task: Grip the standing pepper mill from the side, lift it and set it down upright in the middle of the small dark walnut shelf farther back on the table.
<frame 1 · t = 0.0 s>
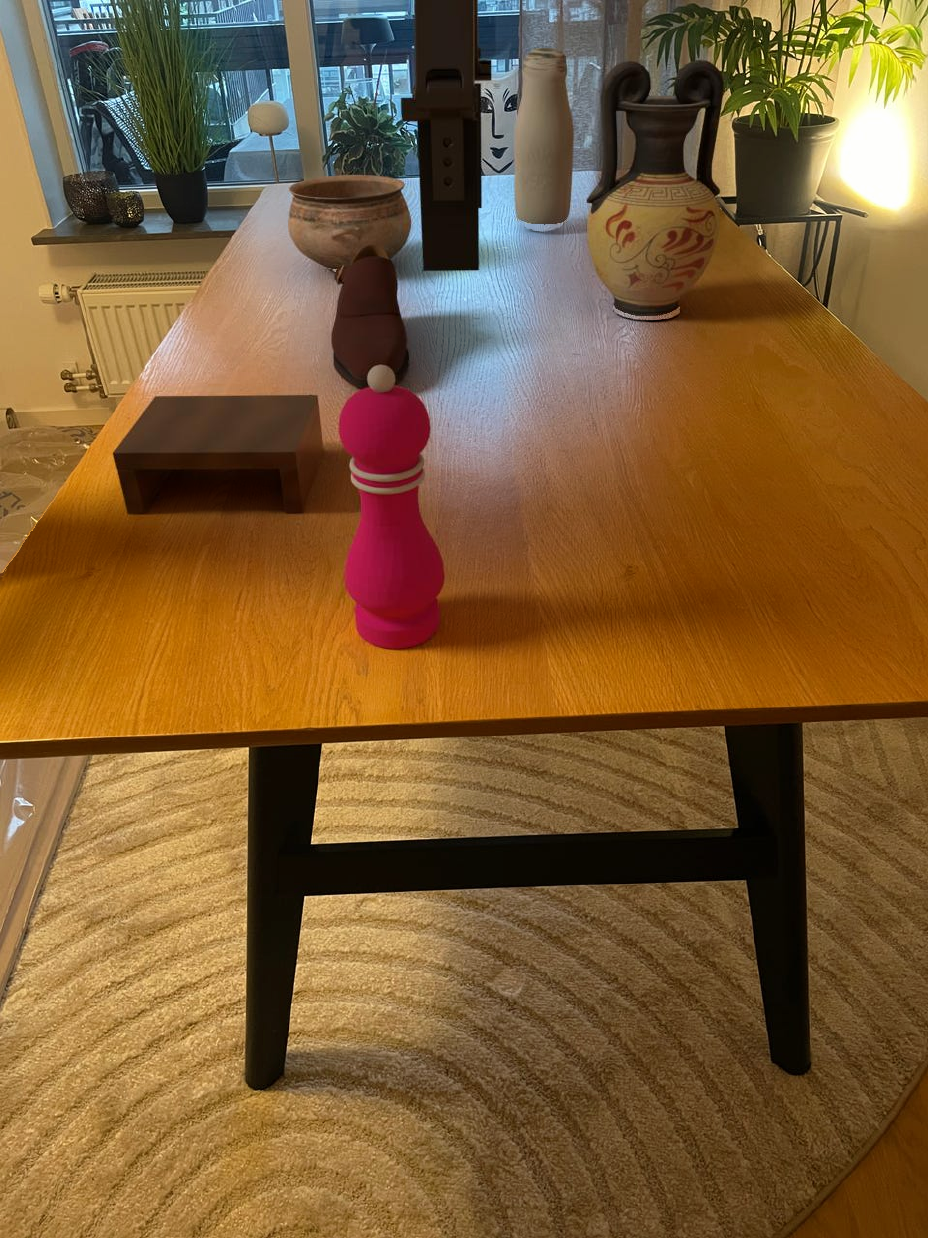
hand: (455, 235, 53), 29 cm above the table, tool pointing down, fingers open, 13 cm apart
amphora: (645, 312, 133), on the table
shelf: (230, 480, 93), on the table
cooking pot: (353, 270, 154), on the table
dress shoe: (371, 357, 120), on the table
tan bottle: (541, 231, 172), on the table
pepper mill: (398, 627, 73), on the table
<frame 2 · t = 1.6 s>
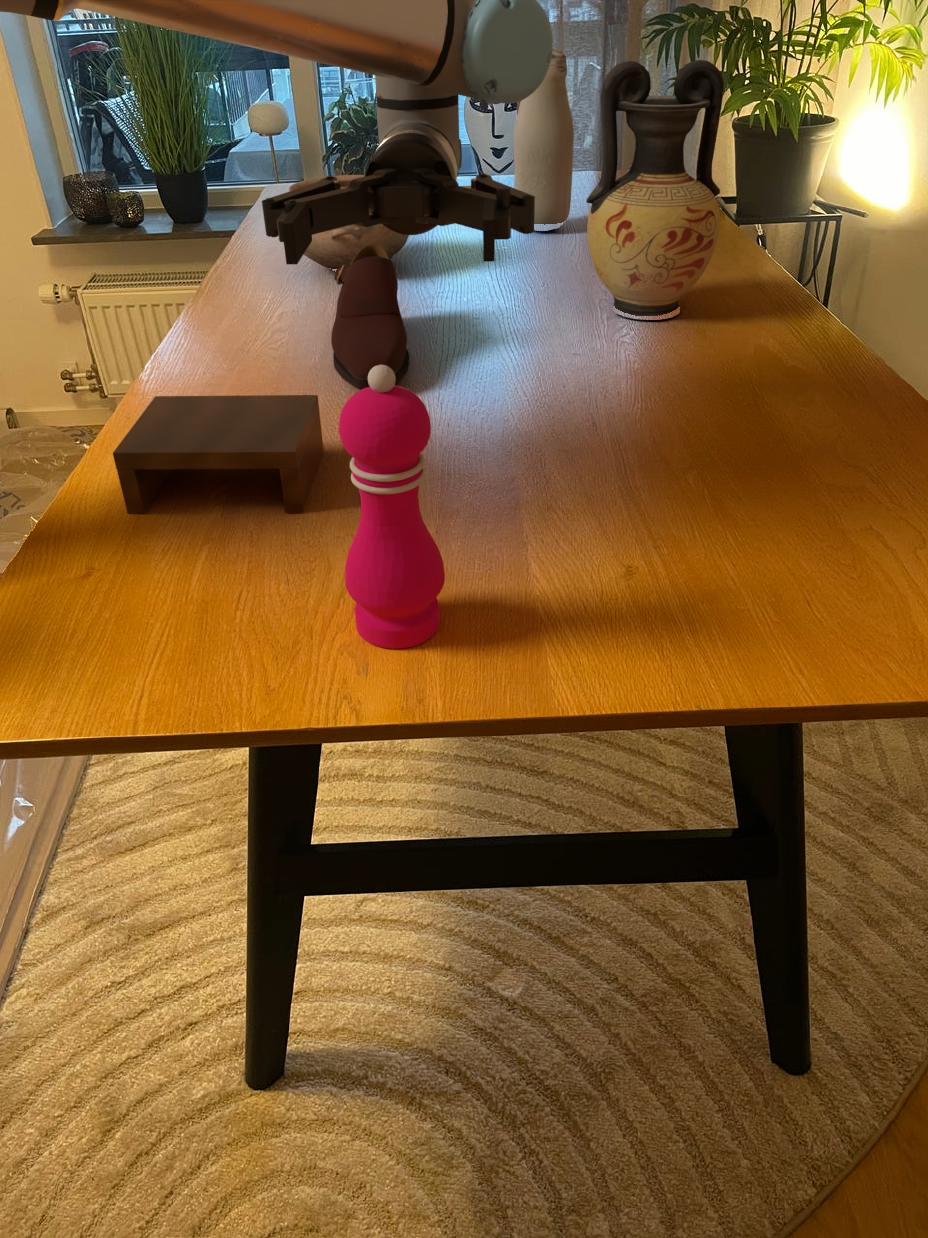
hand: (388, 242, 66), 25 cm above the table, tool horizontal, fingers open, 13 cm apart
nothing on the table moved.
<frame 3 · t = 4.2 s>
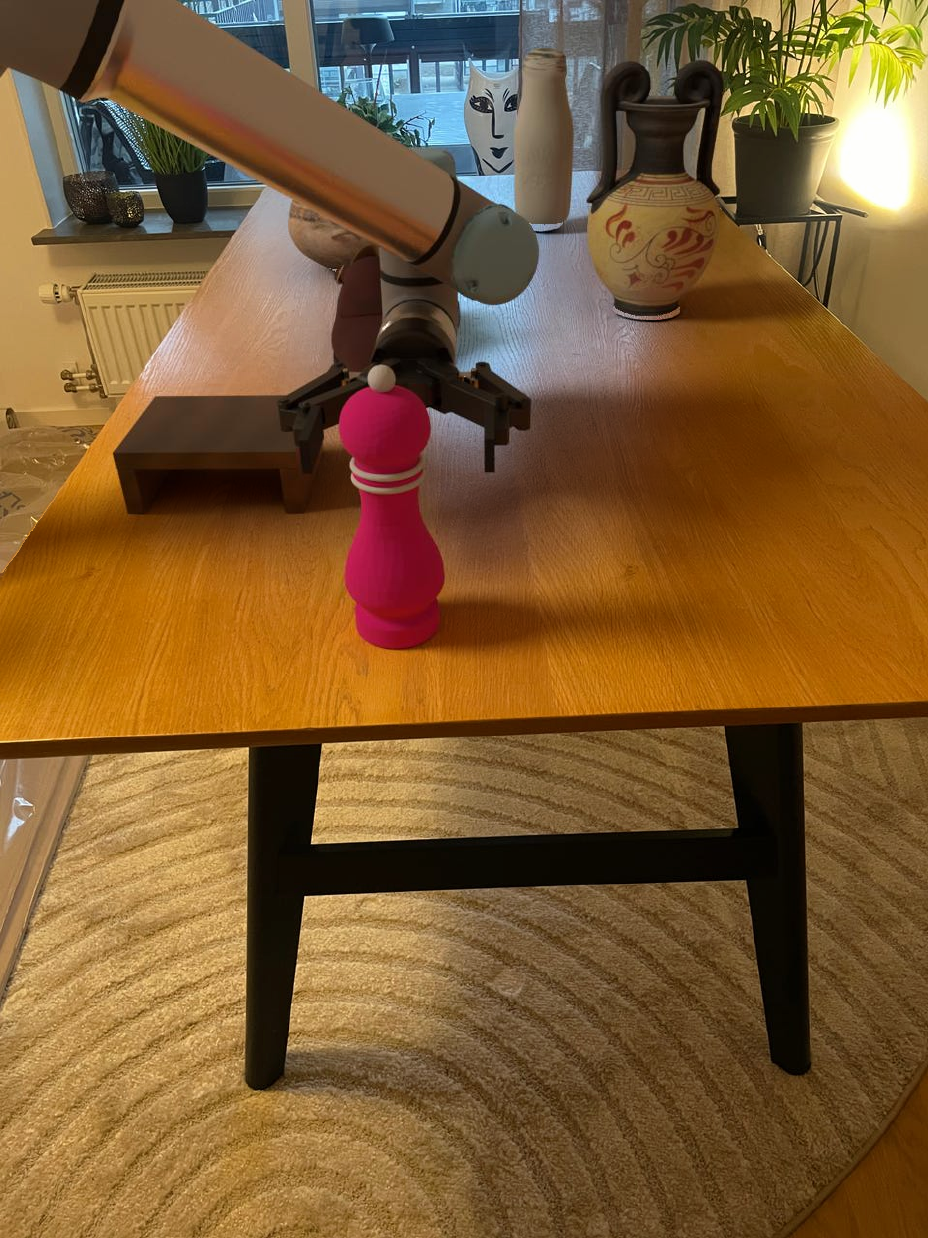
hand: (397, 456, 71), 11 cm above the table, tool horizontal, fingers open, 13 cm apart
nothing on the table moved.
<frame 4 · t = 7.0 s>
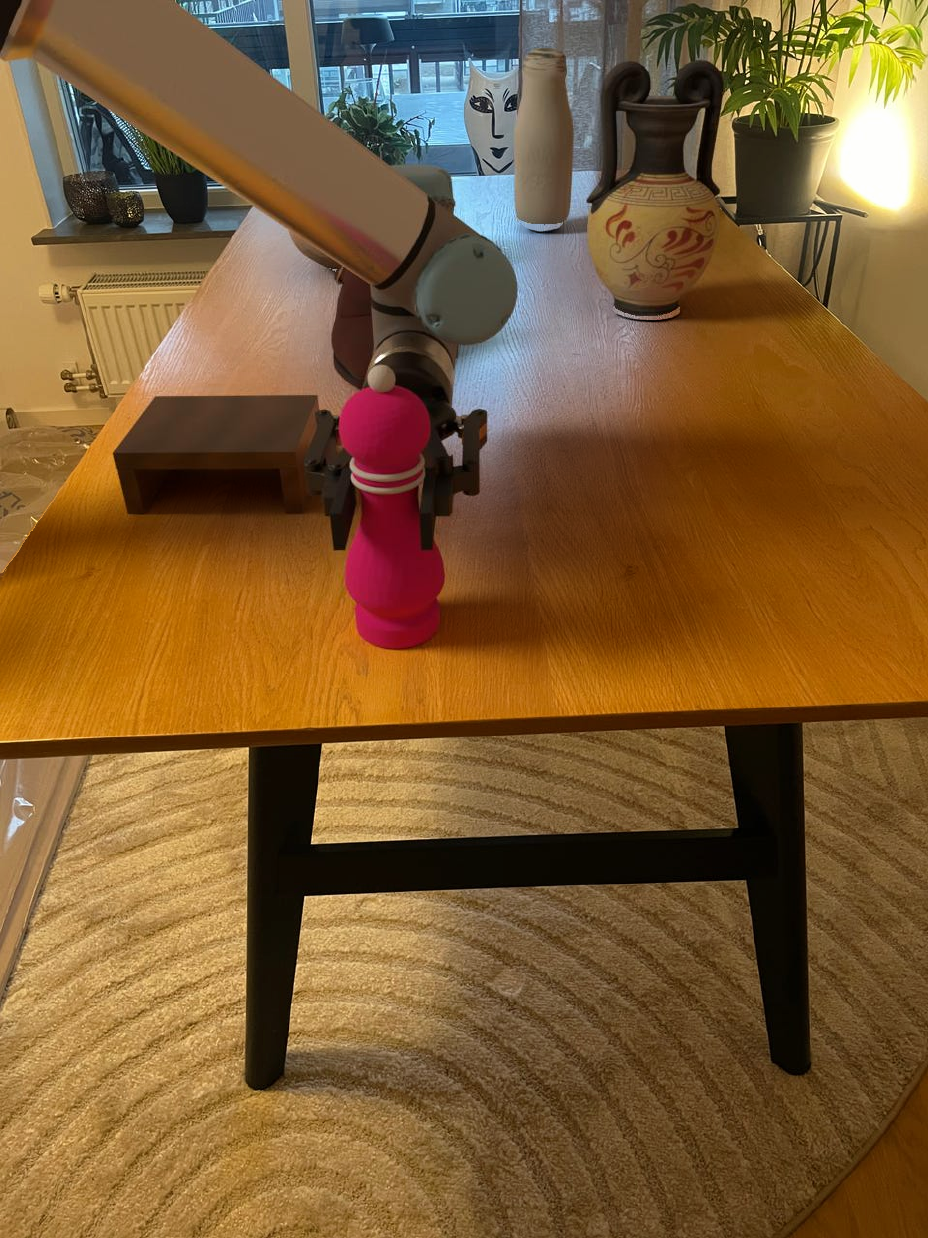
hand: (381, 531, 62), 11 cm above the table, tool horizontal, fingers closed on pepper mill, 5 cm apart
pepper mill: (398, 627, 73), on the table, touching gripper
everything else where it was.
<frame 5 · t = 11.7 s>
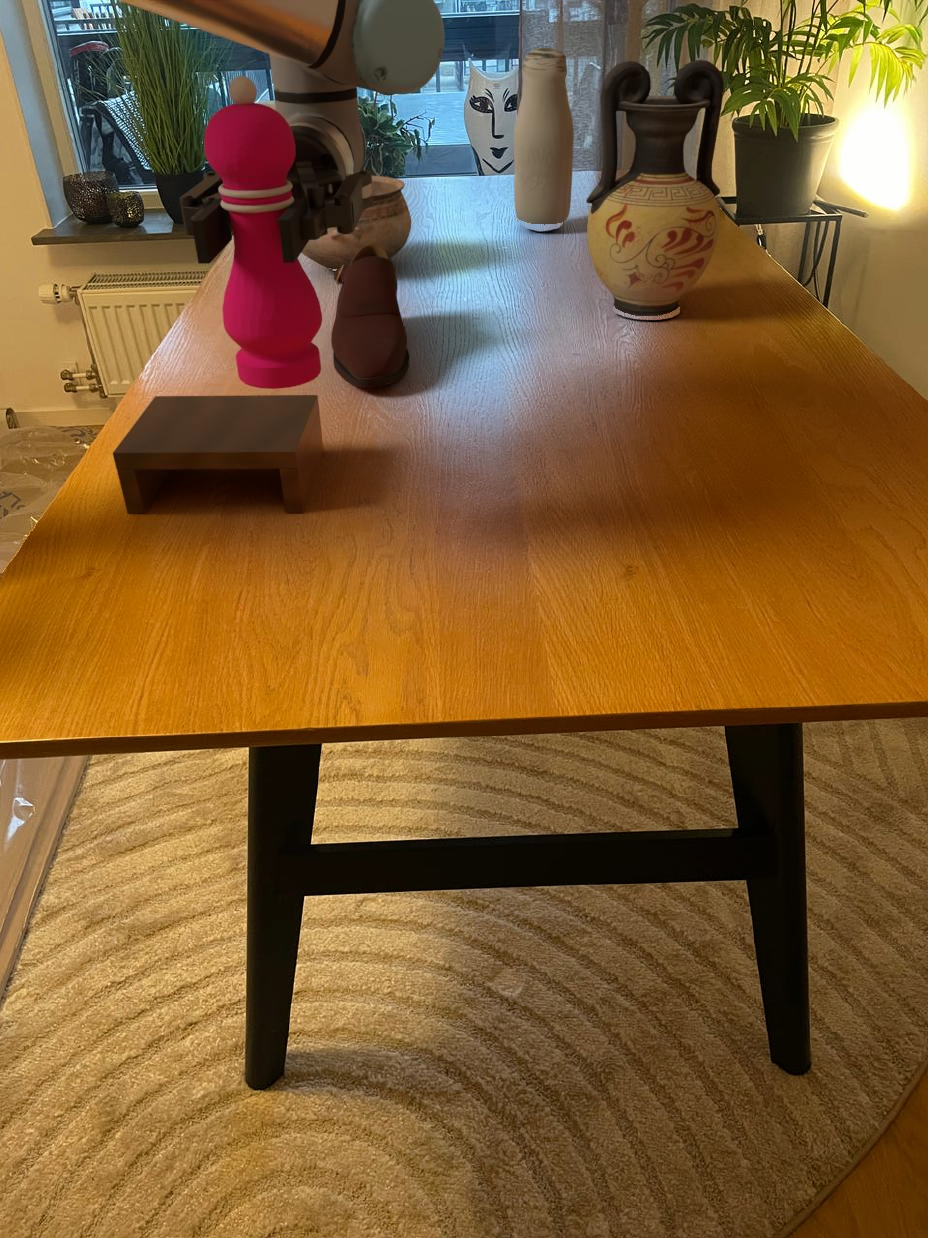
hand: (243, 241, 63), 26 cm above the table, tool horizontal, fingers closed on pepper mill, 5 cm apart
pepper mill: (280, 376, 74), point 15 cm above the table, touching gripper
everything else where it was.
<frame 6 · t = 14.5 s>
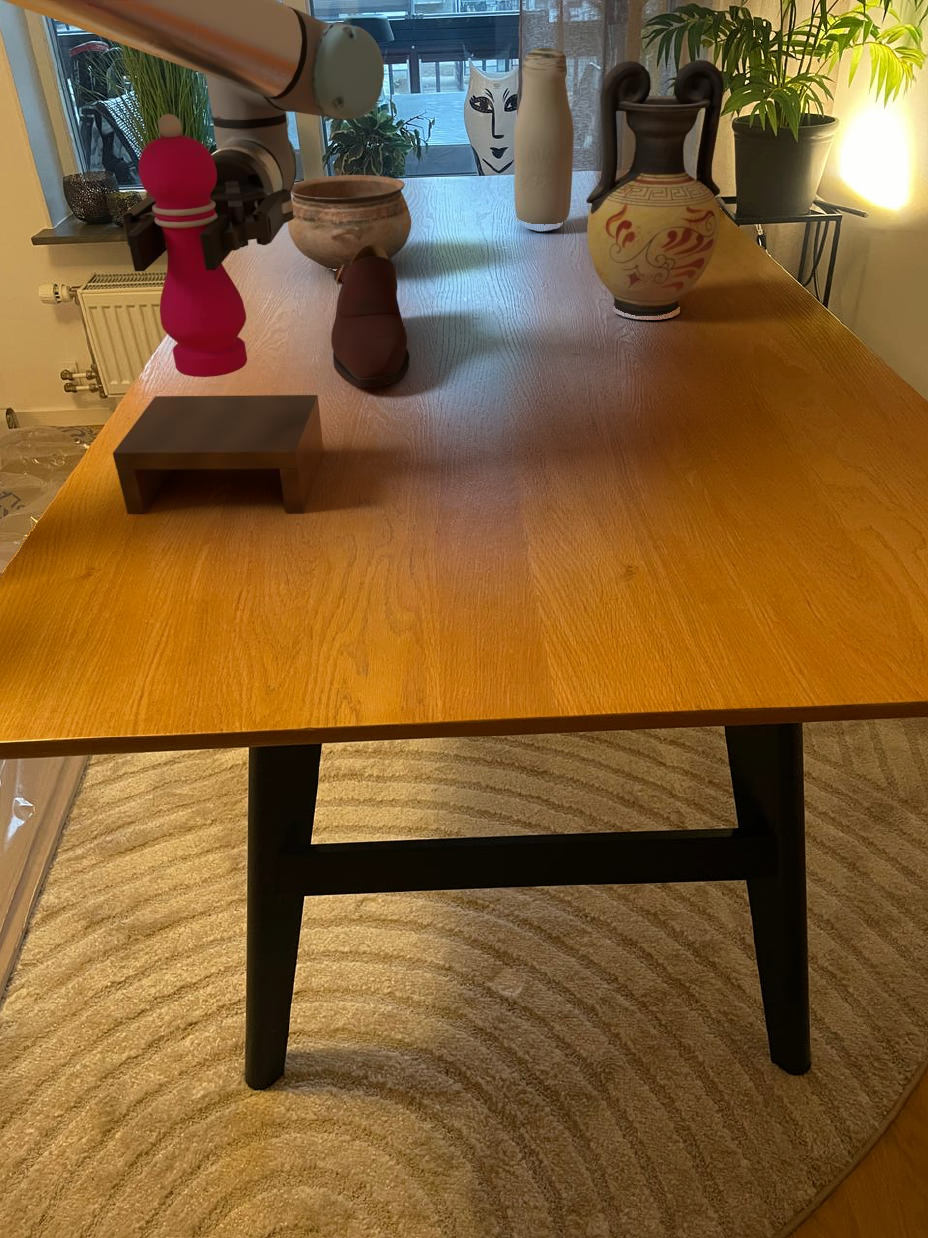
hand: (171, 252, 76), 22 cm above the table, tool horizontal, fingers closed on pepper mill, 5 cm apart
pepper mill: (212, 367, 86), point 11 cm above the table, touching gripper
everything else where it was.
when the fingers open (17 cm above the table, at t = 16.3 s): pepper mill stays where it is, resting on shelf.
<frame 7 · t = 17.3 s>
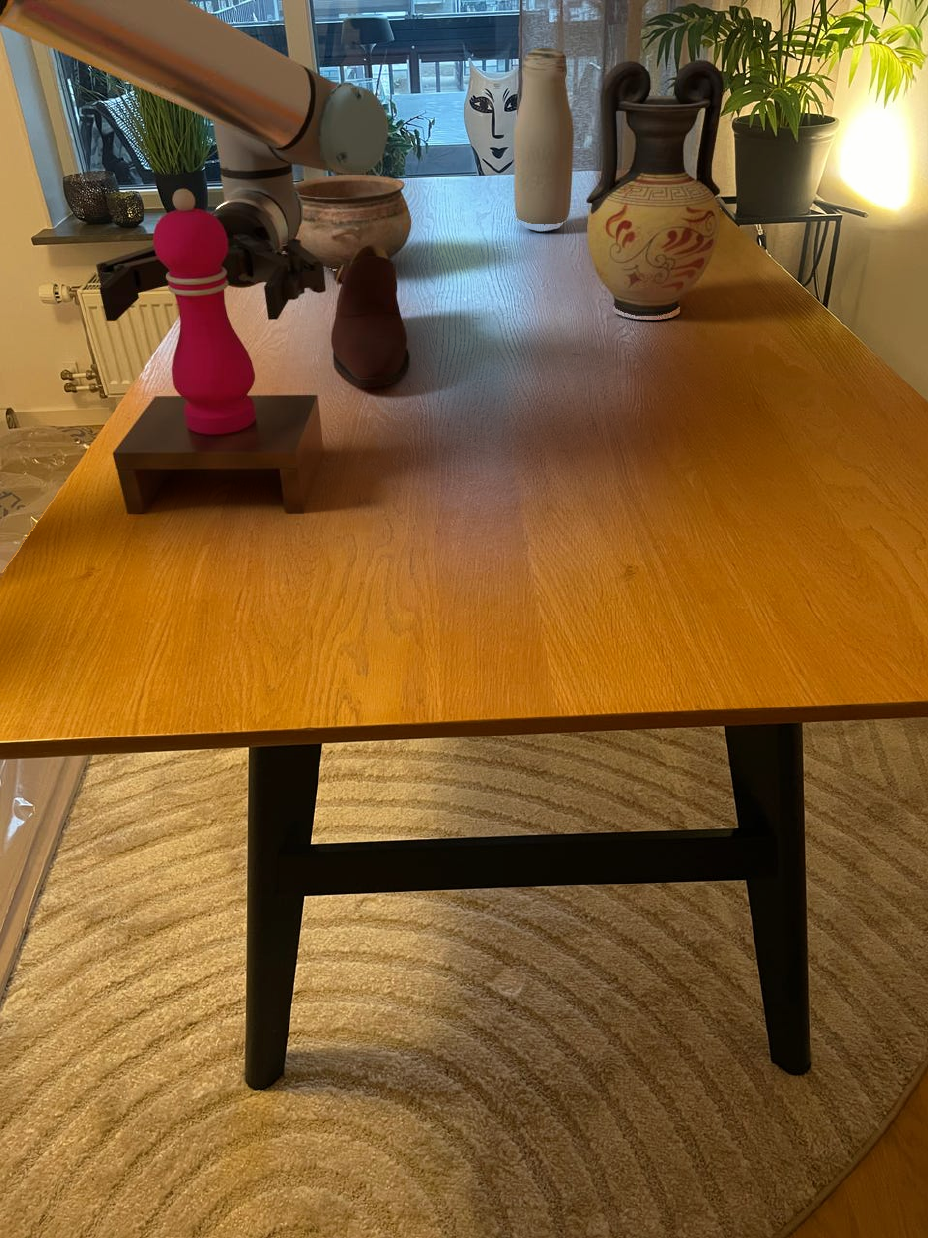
hand: (188, 304, 80), 18 cm above the table, tool horizontal, fingers open, 13 cm apart
pepper mill: (222, 423, 89), point 6 cm above the table, touching shelf
everything else where it was.
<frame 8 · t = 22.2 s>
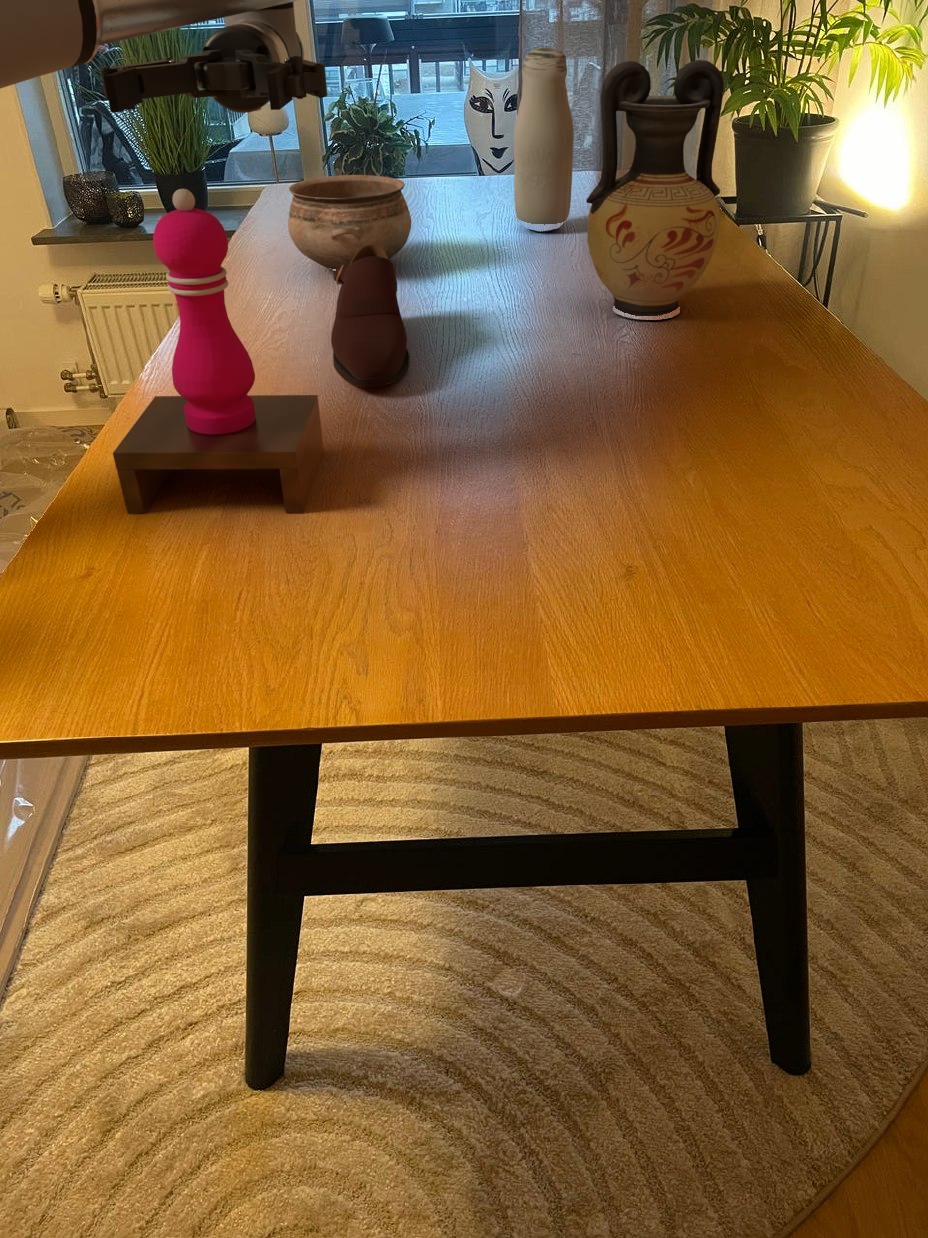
hand: (192, 92, 81), 32 cm above the table, tool horizontal, fingers open, 13 cm apart
nothing on the table moved.
at the end: pepper mill inside the target area on the shelf (0.1 cm from its centre), point 5.8 cm above the shelf's base; pepper mill tilted 0°; the gripper is holding nothing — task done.
